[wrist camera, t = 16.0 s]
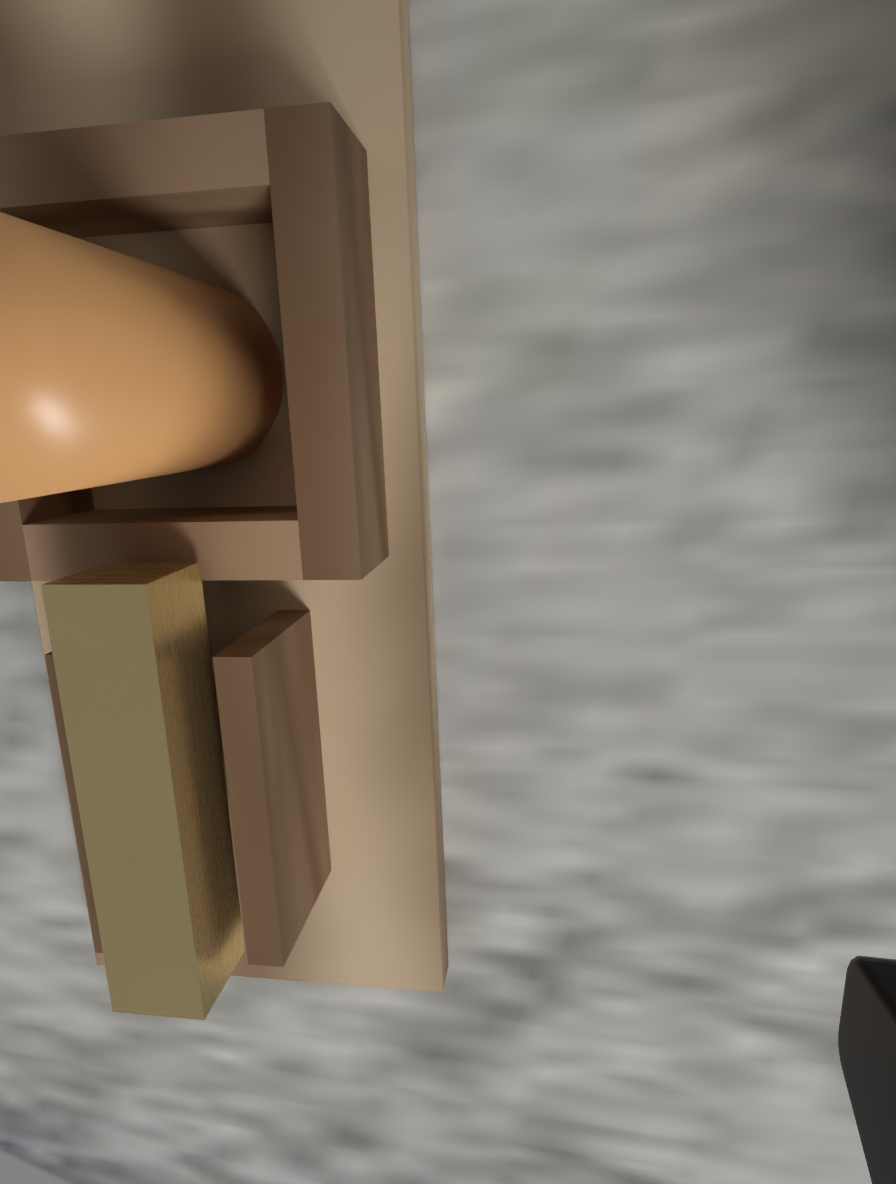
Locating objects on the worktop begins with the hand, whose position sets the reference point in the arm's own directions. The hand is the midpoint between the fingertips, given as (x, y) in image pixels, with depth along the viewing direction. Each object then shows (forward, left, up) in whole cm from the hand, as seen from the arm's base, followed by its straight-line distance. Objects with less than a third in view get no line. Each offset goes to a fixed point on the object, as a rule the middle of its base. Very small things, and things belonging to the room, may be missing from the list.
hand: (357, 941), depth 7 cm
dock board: (+6, -2, -11) cm, 13 cm away
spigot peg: (+6, -6, -10) cm, 13 cm away
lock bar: (+6, +2, -8) cm, 10 cm away
